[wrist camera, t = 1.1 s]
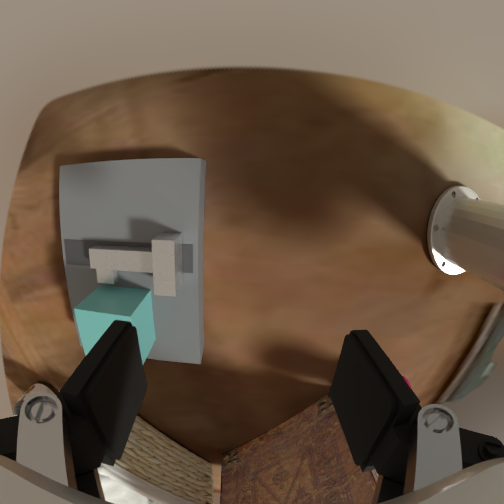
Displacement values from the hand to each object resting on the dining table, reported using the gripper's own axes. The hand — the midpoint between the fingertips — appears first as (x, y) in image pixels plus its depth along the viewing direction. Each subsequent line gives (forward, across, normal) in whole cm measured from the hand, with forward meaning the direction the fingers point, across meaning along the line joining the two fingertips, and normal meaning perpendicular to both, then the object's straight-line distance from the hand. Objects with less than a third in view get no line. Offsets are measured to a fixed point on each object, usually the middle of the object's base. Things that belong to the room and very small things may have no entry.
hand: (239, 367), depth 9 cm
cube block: (+18, +12, +8) cm, 23 cm away
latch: (+18, +11, +2) cm, 21 cm away
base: (+22, +12, +3) cm, 25 cm away
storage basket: (+22, +16, +41) cm, 49 cm away
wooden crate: (+22, -10, +34) cm, 42 cm away
